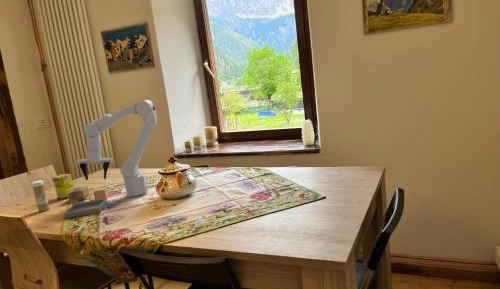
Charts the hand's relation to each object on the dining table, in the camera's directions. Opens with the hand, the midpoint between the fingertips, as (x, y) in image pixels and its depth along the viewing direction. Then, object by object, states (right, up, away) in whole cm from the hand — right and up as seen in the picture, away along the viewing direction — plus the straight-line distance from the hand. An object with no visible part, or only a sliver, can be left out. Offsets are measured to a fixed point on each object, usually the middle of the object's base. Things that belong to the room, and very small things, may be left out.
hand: (96, 179), depth 175 cm
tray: (+1, -12, -12) cm, 17 cm away
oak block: (-11, -10, +7) cm, 17 cm away
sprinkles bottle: (-22, -14, -2) cm, 26 cm away
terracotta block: (+2, -9, +2) cm, 10 cm away
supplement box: (-20, -10, +15) cm, 27 cm away
